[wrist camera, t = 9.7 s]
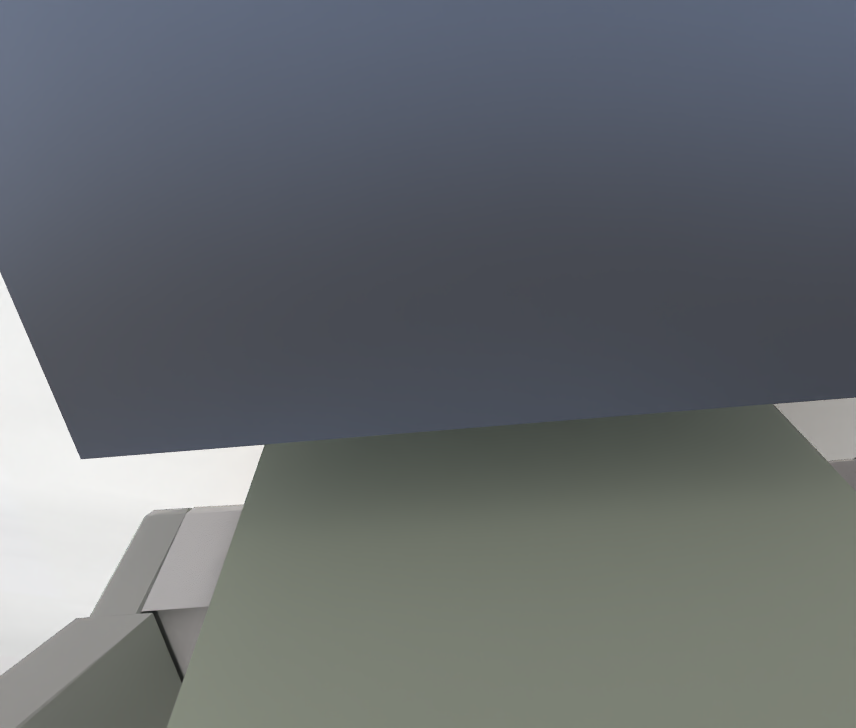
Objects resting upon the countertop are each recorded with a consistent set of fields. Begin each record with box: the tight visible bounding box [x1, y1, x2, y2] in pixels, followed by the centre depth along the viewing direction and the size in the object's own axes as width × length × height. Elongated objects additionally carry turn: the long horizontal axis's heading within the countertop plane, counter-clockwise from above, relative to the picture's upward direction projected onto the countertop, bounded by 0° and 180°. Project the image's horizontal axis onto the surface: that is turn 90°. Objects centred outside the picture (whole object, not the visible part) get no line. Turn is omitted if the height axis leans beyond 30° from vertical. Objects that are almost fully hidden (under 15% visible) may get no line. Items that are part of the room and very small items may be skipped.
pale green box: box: [167, 404, 856, 728], centre depth 8 cm, size 3×6×9 cm, turn 94°
